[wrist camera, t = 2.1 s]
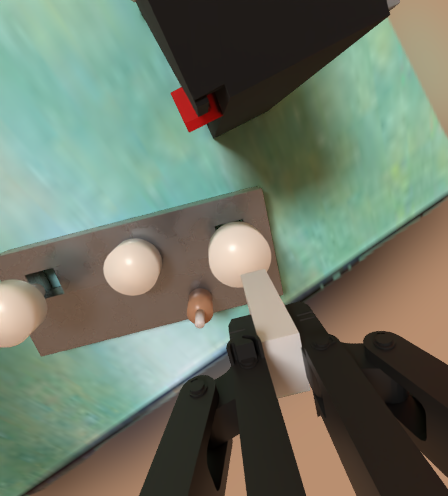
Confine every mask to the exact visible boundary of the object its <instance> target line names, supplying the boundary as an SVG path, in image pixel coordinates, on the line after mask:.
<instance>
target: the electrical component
mask: <svg viewBox="0 0 448 496" xmlns="http://www.w3.org/2000/svg"><path fill="white" fill-rule="evenodd" d="M132 1H133V2H136V3H137V5H138V7H139V9H140V11H141V13H142V15H143V17H144V19H145V21H146V22H147V24H148V26H149V28H150V30H151V32H152V33H153V35H154V37H155V39H156V41H157V43H158V44H159V46H160V48H161V50H162V52H163V53H164V55H165V57H166V59H167V61H168V63H169V64H170V66H171V68H172V70H173V72H174V74H175V75H176V77H177V79H178V81H179V83H180V85H181V86H182V87H181V88H179V89H177V90H175V91H173V92H171V95H172V97H173V99H174V102H175V104H176V106H177V108H178V110H179V112H180V114H181V117H182V119H183V121H184V123H185V125H186V127H187V129H188V131H189V132H191V131H193V130H195V129H197V128H199V127H201V126H203V125H205V124H207V126H208V128H209V130H210V132H211V135H212V137H213V139H214V138H216V137H217V136H219V135H221V134H223V133H225V132H227V131H229V130H231V129H233V128H235V127H237V126H239V125H241V124H243V123H245V122H247V121H249V120H251V119H253V118H255V117H257V116H259V115H261V114H263V113H265V112H267V111H268V110H269V109H271V108H272V107H273V106H275V105H276V104H277V103H278V102H280V101H281V100H282V99H283V98H285V97H286V96H287V95H289V94H290V93H291V92H292V91H294V90H295V89H296V88H298V87H299V86H300V85H301V84H303V83H304V82H305V81H306V80H308V79H309V78H310V77H312V76H313V75H314V74H315V73H317V72H318V71H319V70H320V69H322V68H323V67H324V66H326V65H327V64H328V63H329V62H331V61H332V60H333V59H335V58H336V57H337V56H338V55H340V54H341V53H342V52H343V51H345V50H346V49H347V48H349V47H350V46H351V45H352V44H354V43H355V42H356V41H357V40H359V39H360V38H361V37H363V36H364V35H365V34H366V33H368V32H369V31H370V30H372V29H373V28H374V27H375V26H377V25H378V24H379V23H380V22H382V21H383V20H384V19H386V18H387V17H388V16H389V15H390V12H389V11H390V10H391V9H393V8H394V7H395V6H396V5H397V4H399V3H400V0H132Z"/></svg>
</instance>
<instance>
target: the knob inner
mask: <svg viewBox="0 0 448 496" xmlns="http://www.w3.org/2000/svg"><path fill="white" fill-rule="evenodd" d="M44 295H45V289H44V287H43V286H42V285H40V284H37V283H34V284H29V283H27V282H24V281H21V280H4V281H1V282H0V347H12V346H15V345H18V344H20V343H21V342H23V341H24V340H25V339H26V338H27V337H28V336H29V335H30V334H31V333H32V332H33V331H34V330H35V329H36V328H37V327H38V326H39V325H40V324H41V323H42V322H43V321H44V319H45V318H46V315H47V309H48V308H47V302H46V300H45V298H44Z"/></svg>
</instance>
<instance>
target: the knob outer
mask: <svg viewBox="0 0 448 496" xmlns="http://www.w3.org/2000/svg"><path fill="white" fill-rule="evenodd" d="M208 254H209V265H210V269H211V271H212V273H213V275H214V276H215V277H216V278H217V279H218V280H219V281H220V282H222V283H223V284H225V285H227V286H231V287H237V288H240V287H243V284H242V280H241V276H240V275H242V274H246V273H250V272H254V271H258V270H262V269H265V270H266V272H267V271H268V269H269V267H270V263H271V250H270V247H269V245H268V243H267V241H266V240H265V238H264V237H263V236H262V235H261V233H260V232H259V231H258V230H257V229H256V228H255V227H254V226H252V225H250V224H248V223H245V222H230V223H227V224H225V225H223V226H221V227H220V228H218V229H217V230H216V231H215V232H214V234H213V235H212V237H211V239H210V242H209V246H208Z"/></svg>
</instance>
